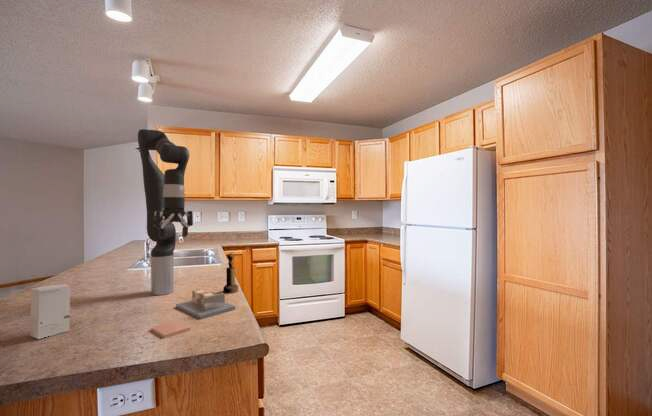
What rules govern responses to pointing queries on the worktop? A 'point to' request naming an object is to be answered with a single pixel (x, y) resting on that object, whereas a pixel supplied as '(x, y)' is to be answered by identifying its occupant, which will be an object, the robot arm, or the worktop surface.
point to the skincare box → (50, 310)
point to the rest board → (199, 310)
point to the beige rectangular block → (208, 299)
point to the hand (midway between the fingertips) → (173, 237)
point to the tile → (170, 328)
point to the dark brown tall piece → (230, 276)
